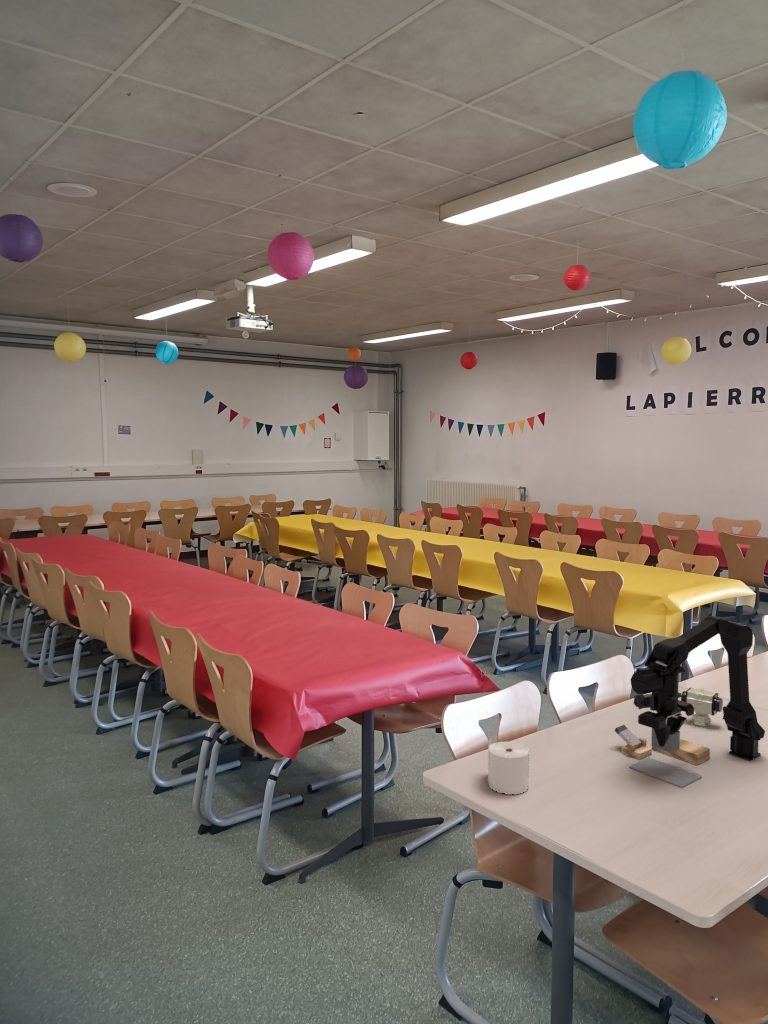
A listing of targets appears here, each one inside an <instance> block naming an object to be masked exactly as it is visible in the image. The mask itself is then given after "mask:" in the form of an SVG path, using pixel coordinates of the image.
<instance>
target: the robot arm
mask: <svg viewBox="0 0 768 1024" xmlns="http://www.w3.org/2000/svg"><path fill="white" fill-rule="evenodd" d="M717 635H719V637H720V642H721V645H722V647H723V648H724V650H725V652H726V653H727V661H728V663H727V664H728V681H729V683H728V684H729V701H728V703H727V705H724V706H722V712H723V715H722V716H723V717H722V720H723V721H724V724H725V725H726V728H727V731H730V732H731V735H730V736H729V737H730V740H729V741H730V742H729V746H730V747H729V749H730V751H728V754H729V755H731V756H735V757H737V758H741V759H743V760H748V761H753V760H755V759H757V758H759V757H761V753H760V752H759V741H761V739H764V737H765V735H766V734H765V733H766V730H765V729H764V728H763V727H762V726H761V725H760V723H759V722H758V717H757V712H756V709H755V708H754V707H753V705H752V703H751V702H750V689H749V688H750V687H749V671H748V669H749V668H748V653H749V651H750V649H751V648H752V647H753V642H754V632H753V628H751V627H750V626H749V625H746V624H742V623H738V622H735V621H730V620H726V619H725V618H722V617H719V616H714V615H710V616H709V615H708V616H706V618H705V619H704V620H703V621H701V622H700V623H698V624H697V625H694V626H693V627H692V628H690V629H689V630H687V631H685V632H684V633H682V634H680V635H679V636H677V637H671V638H666V639H663V640H660V641H657V643H655V644H654V645H653V649H652V651H650V652H651V653H650V654H649V656H648V658H647V659H646V660H645V663H644V667H637V668H636V670H635V672H634V673H633V674H632V675H631V678H630V687H631V688H632V690H633V691H634V693H636V695H634V697H633V705H634V706H635V707H636V708H637V709H638V710H642V709H648V708H649V710H646V711H645V712H642V713H640V714H639V715H638V716H637V723H638V724H639V725H641V726H645V727H648V728H650V729H652V728H653V729H654V731H655V734H656V737H657V740H658V743H659V746H662V747H663V746H664V744H665V741H666V738H667V735H668V733H669V730H670V728H671V729H674V730H677V731H680V729H681V728H682V726H683V724H684V722H685V721H687V717H685V716H683V714H682V712H684V713H685V715H686V716H688V717H692V715H693V714H695V712H694V707H693V706H692V704H690V703H687V702H683V701H681V695H682V692H679V679H680V678H679V677H680V676H679V674H681V673H685V672H686V669H684V667H682V664H683V663H684V662H685V661H687V659H688V657H689V654H690V653H691V652H693V650H695V649H697V648H698V647H700V646H702V644H704V643H706V642H708V641H709V640H711V639H712V638H713V637H716V636H717ZM652 711H653V712H652ZM654 711H655V712H654Z"/></svg>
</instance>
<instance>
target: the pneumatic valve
mask: <svg viewBox="0 0 768 1024" xmlns="http://www.w3.org/2000/svg"><path fill="white" fill-rule="evenodd" d="M680 701H683V702H687V703H690V704H692V706H693V707H694V714H693V715H691V722H692V723H693V725H694V726H698V727H703V728H706V727H708V726H710V724H711V721H712V720H711V717H710V716H716V715H717V713H721V712H722V711H723V707H724V706H723V705H724V703H723V702H724V701H723V698H721V697H720V695H719V692H715V691H709V690H705V689H704V688H702V687H701V688H700V689H699V688H695V687H689V688H688V689H686V690H683V691H682V692H681V697H680Z"/></svg>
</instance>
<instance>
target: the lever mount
mask: <svg viewBox="0 0 768 1024" xmlns="http://www.w3.org/2000/svg"><path fill="white" fill-rule="evenodd" d="M638 739H639V740H640V741H641V742H642V745H641V746H639V747H637V748H635V745H634V744H631V743H628V744H627V743H626V745H624V746H622V747H621V754H623V755H626V756H628V757H631V758H634V759H637V760H639V761H641V760H643V759H645V758H648V757H650V756H651V755H653V754H652V752H653V749H652V747H648V746H647V739H645V738H641V737H639V738H638Z"/></svg>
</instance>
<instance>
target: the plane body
mask: <svg viewBox="0 0 768 1024" xmlns="http://www.w3.org/2000/svg"><path fill="white" fill-rule="evenodd" d="M651 748H652V751H653V750H654V751H655V752H656V751H657V752H659V753H662V754H663V755H664V754H665V755H667V756H670V757H673V758H676V759H679V760H682V761H684V762H688V763H690V764H692V765H693V764H694V765H695V766H698V765H700V764H702V763H704V762H705V761H707V760H710V757H711V756H710V755H711V748H709V747H707V746H704V745H700V744H697V743H694V742H692V741H688V740H686V739H682V738H680V745H679V749H678V750H676V751H674V752H672V753H670V752H668V751H665V750H662V749H659V748H656V747H653V746H651Z"/></svg>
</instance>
